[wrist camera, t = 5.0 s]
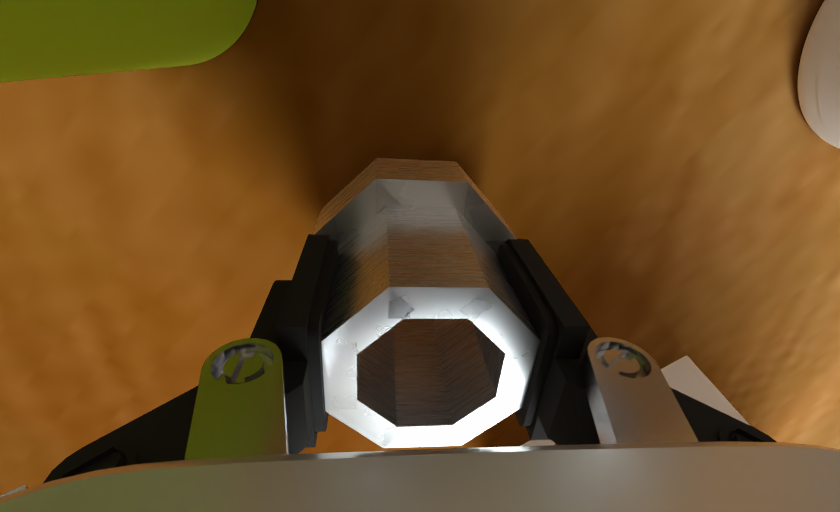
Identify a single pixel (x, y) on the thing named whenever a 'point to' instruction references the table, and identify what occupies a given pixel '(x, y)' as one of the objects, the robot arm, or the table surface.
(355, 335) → the octagonal collar pipe
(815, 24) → the pill bottle
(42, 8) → the soap dispenser
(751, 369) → the table surface
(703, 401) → the milk
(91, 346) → the table surface
